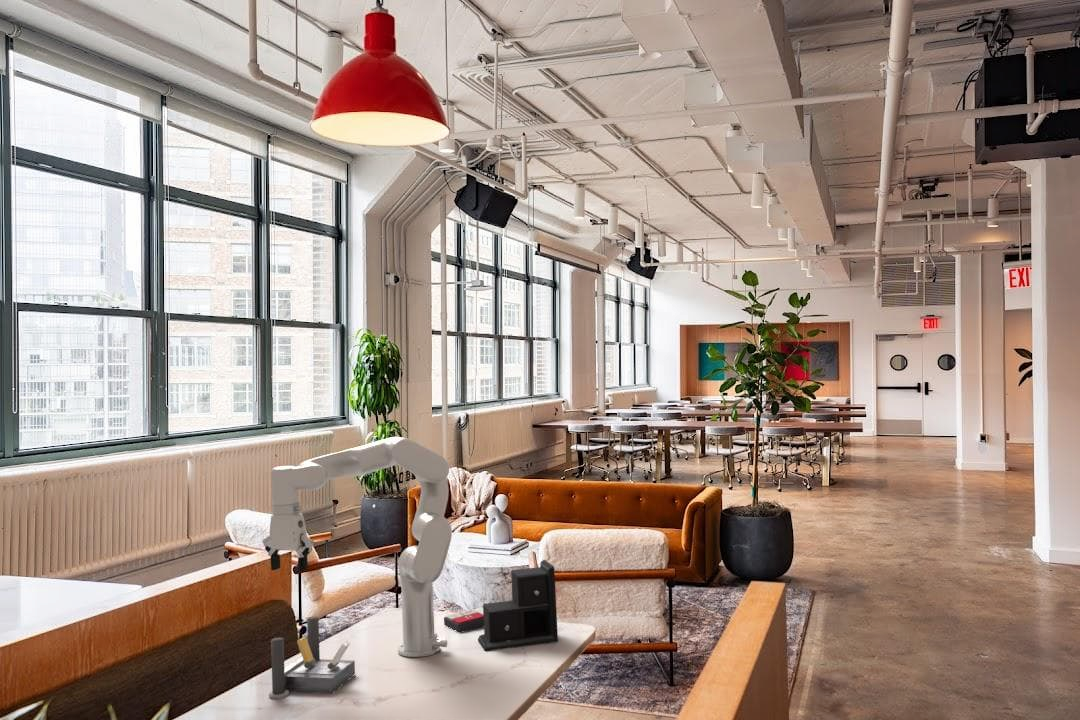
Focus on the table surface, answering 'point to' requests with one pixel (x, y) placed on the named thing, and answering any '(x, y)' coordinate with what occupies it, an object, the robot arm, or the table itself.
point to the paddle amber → (306, 652)
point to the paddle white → (338, 655)
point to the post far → (313, 635)
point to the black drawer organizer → (523, 611)
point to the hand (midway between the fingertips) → (289, 569)
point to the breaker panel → (317, 676)
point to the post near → (278, 669)
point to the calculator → (465, 620)
